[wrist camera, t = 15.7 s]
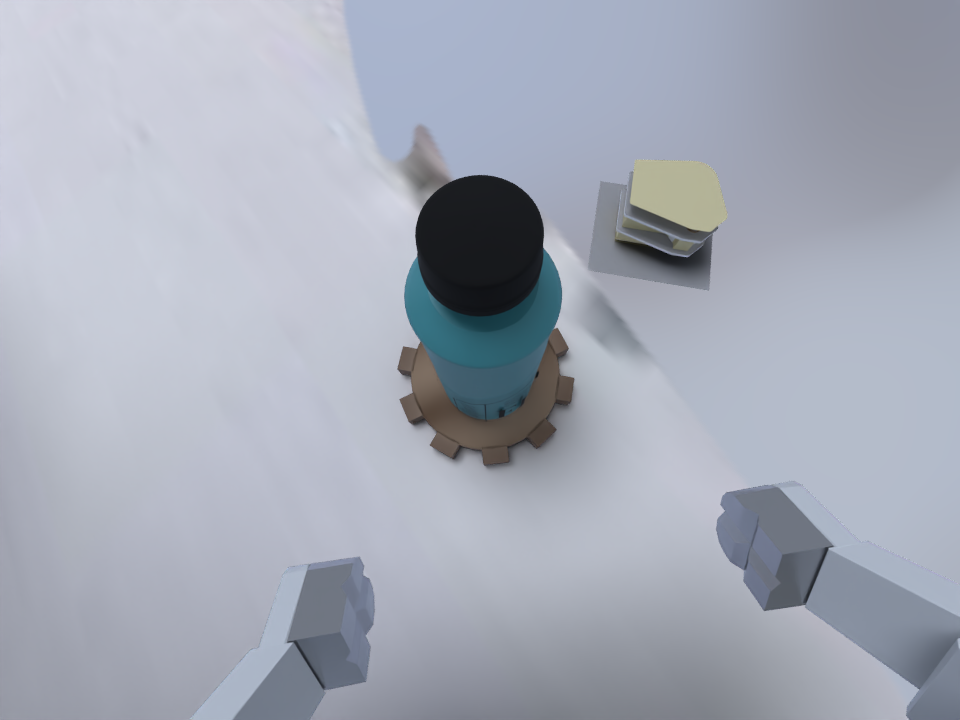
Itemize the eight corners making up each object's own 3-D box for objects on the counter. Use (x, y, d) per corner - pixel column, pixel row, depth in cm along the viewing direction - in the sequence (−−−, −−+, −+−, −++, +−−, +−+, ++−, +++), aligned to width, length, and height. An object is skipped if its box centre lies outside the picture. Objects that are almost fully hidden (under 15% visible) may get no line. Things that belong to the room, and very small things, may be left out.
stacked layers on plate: (587, 270, 36) (604, 234, 31) (600, 181, 38) (618, 133, 33) (708, 290, 35) (747, 257, 30) (714, 198, 38) (751, 152, 32)
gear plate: (368, 374, 34) (362, 369, 32) (488, 271, 36) (488, 262, 34) (481, 502, 31) (480, 503, 29) (604, 382, 33) (609, 377, 32)
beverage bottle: (497, 444, 30) (509, 380, 11) (424, 389, 32) (321, 247, 12) (549, 371, 32) (640, 204, 13) (477, 322, 33) (458, 99, 14)
